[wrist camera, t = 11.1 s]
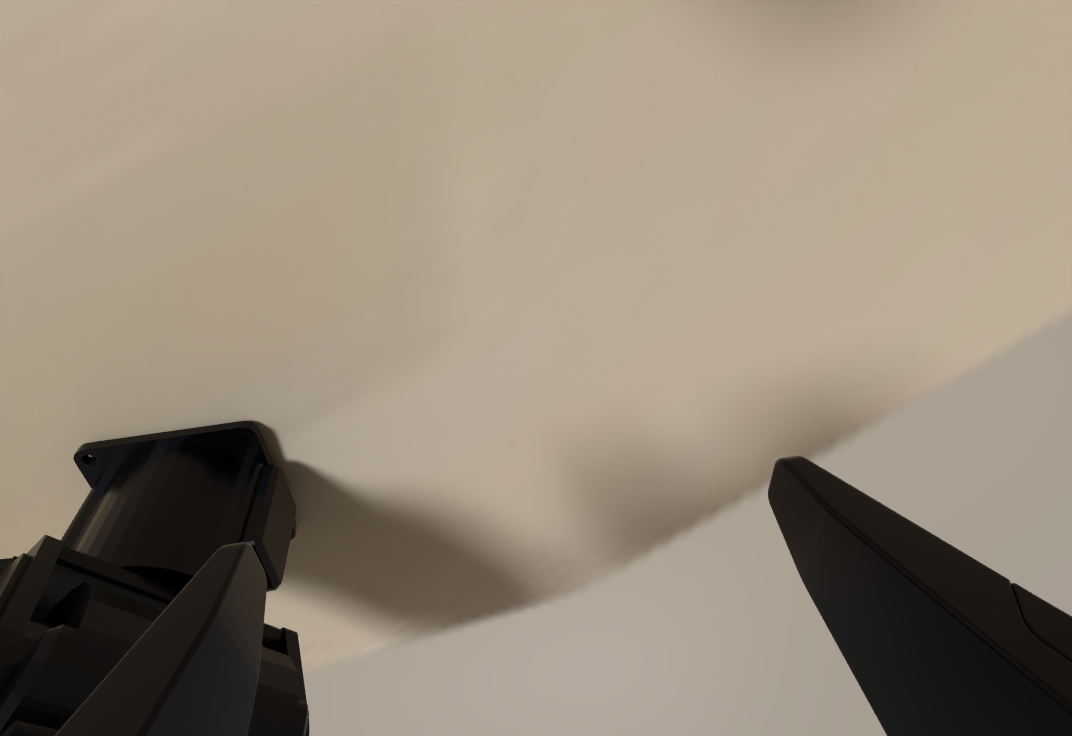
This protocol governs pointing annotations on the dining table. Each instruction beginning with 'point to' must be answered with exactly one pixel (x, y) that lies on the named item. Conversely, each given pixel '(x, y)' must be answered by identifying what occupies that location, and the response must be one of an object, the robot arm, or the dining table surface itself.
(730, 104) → the dining table surface
